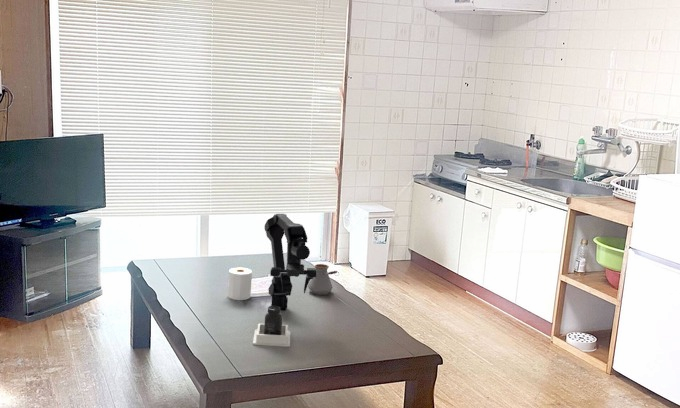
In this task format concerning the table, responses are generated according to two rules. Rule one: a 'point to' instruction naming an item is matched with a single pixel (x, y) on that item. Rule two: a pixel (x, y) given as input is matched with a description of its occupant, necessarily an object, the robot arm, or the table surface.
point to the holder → (271, 337)
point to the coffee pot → (321, 280)
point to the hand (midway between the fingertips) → (293, 292)
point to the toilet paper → (239, 283)
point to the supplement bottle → (273, 321)
